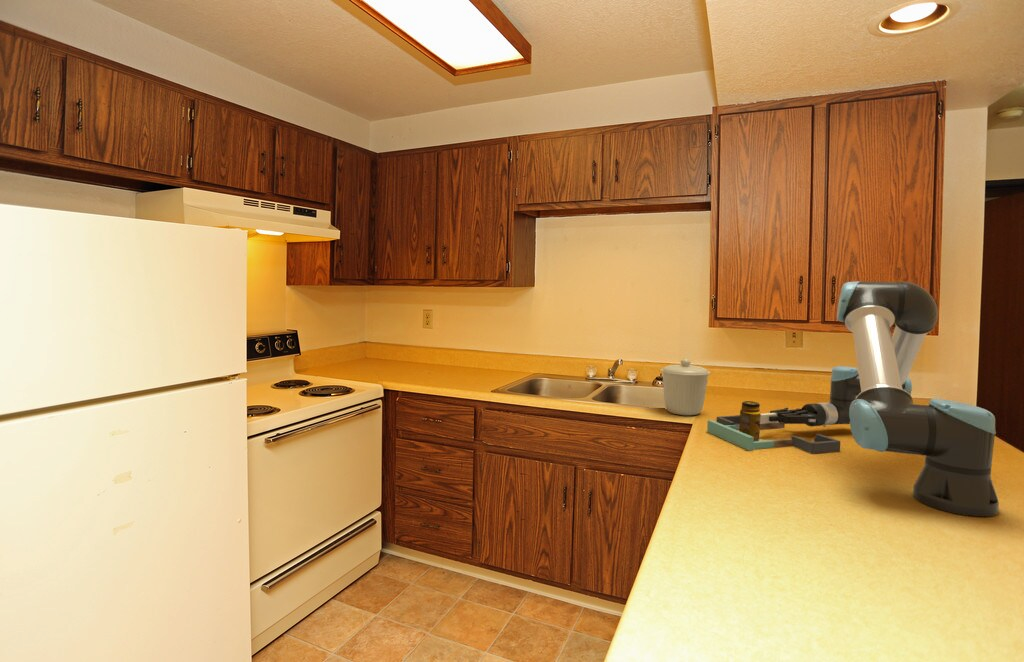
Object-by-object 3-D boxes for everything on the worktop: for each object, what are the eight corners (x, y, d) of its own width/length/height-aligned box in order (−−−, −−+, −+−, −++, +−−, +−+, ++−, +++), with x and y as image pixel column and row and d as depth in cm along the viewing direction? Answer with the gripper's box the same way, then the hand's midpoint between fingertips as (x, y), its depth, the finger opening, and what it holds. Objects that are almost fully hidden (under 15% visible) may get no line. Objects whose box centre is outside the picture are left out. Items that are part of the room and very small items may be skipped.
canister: (659, 416, 200) (661, 361, 198) (658, 405, 218) (660, 354, 216) (711, 420, 196) (713, 363, 194) (705, 408, 213) (707, 356, 211)
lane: (781, 426, 187) (782, 421, 187) (827, 443, 169) (827, 436, 169) (732, 430, 182) (733, 424, 182) (773, 447, 164) (774, 441, 163)
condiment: (765, 441, 170) (767, 404, 169) (743, 443, 168) (745, 406, 167) (748, 435, 177) (750, 399, 176) (727, 437, 175) (729, 400, 173)
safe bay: (731, 430, 183) (732, 418, 182) (775, 448, 163) (776, 435, 163) (707, 431, 180) (707, 420, 180) (748, 450, 161) (749, 437, 160)
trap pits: (759, 421, 194) (760, 413, 194) (840, 451, 161) (841, 441, 160) (715, 425, 189) (716, 416, 189) (789, 455, 156) (790, 445, 156)
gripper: (833, 430, 173) (772, 435, 167) (802, 420, 185) (744, 424, 179) (835, 408, 172) (773, 412, 166) (803, 399, 185) (745, 402, 179)
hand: (758, 418), depth 173 cm, fingers closed
